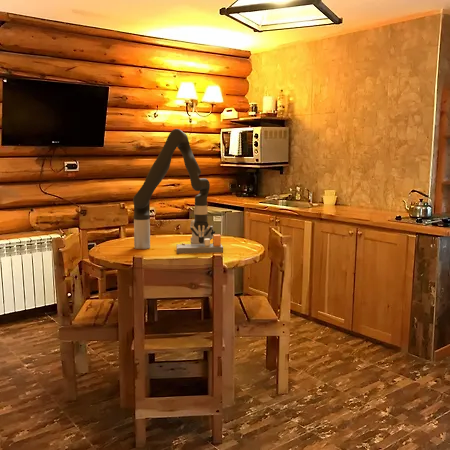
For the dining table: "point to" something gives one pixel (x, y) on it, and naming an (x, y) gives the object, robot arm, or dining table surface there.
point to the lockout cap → (216, 240)
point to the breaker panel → (198, 248)
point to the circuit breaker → (195, 238)
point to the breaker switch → (207, 242)
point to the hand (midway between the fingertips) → (201, 243)
